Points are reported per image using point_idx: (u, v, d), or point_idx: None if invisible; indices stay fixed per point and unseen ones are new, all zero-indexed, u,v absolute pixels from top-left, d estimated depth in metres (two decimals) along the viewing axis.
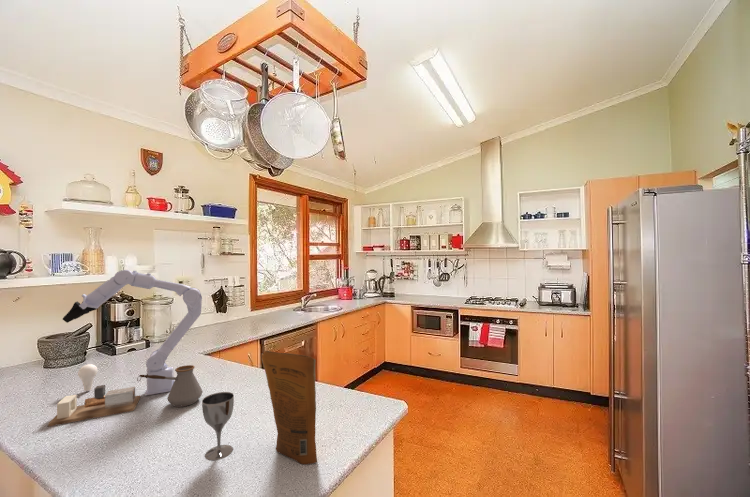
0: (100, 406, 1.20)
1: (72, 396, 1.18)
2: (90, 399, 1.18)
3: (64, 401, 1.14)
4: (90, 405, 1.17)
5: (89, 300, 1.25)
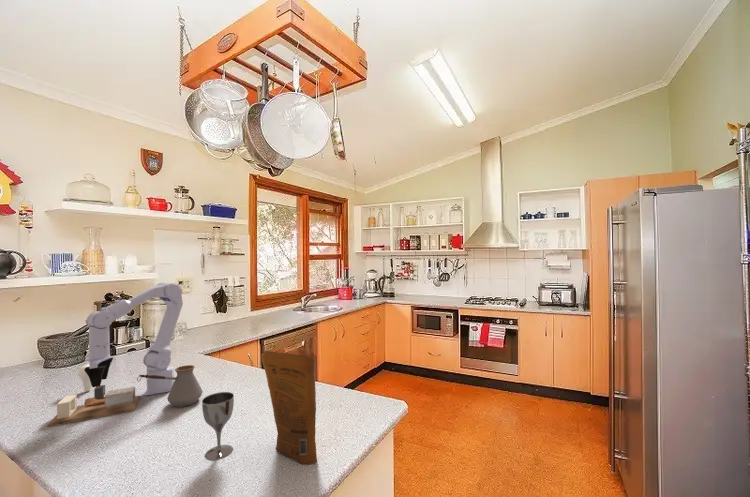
0: (100, 406, 1.20)
1: (72, 396, 1.18)
2: (90, 399, 1.18)
3: (64, 401, 1.14)
4: (90, 405, 1.17)
5: (94, 358, 1.17)
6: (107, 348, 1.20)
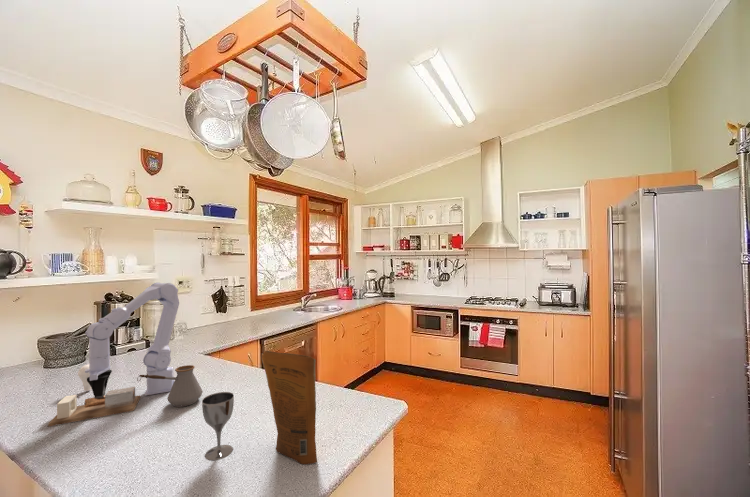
0: (100, 406, 1.20)
1: (72, 396, 1.18)
2: (90, 399, 1.18)
3: (64, 401, 1.14)
4: (90, 405, 1.17)
5: (95, 370, 1.17)
6: (107, 359, 1.20)
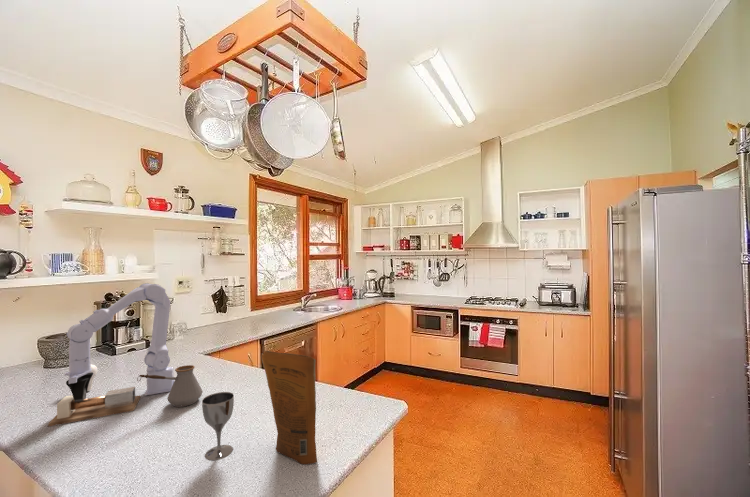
0: (100, 406, 1.20)
1: (72, 396, 1.18)
2: None
3: (64, 401, 1.14)
4: None
5: (74, 372, 1.14)
6: (88, 362, 1.17)
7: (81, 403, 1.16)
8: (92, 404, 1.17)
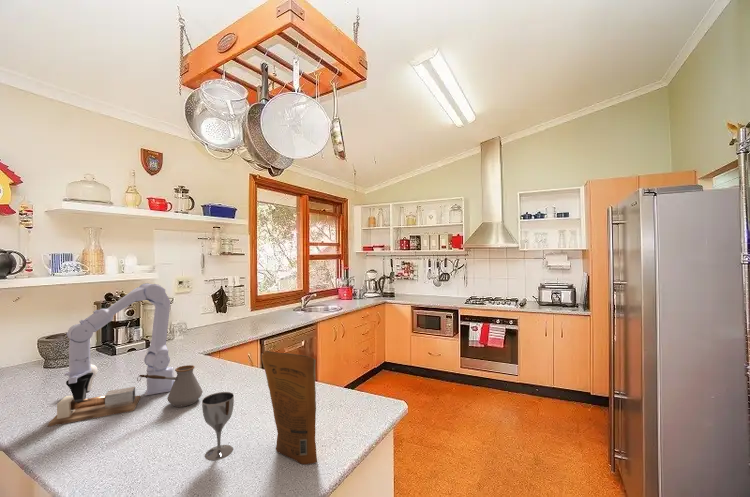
0: (100, 406, 1.20)
1: (72, 396, 1.18)
2: None
3: (64, 401, 1.14)
4: None
5: (74, 372, 1.14)
6: (88, 362, 1.17)
7: (81, 403, 1.16)
8: (92, 404, 1.17)
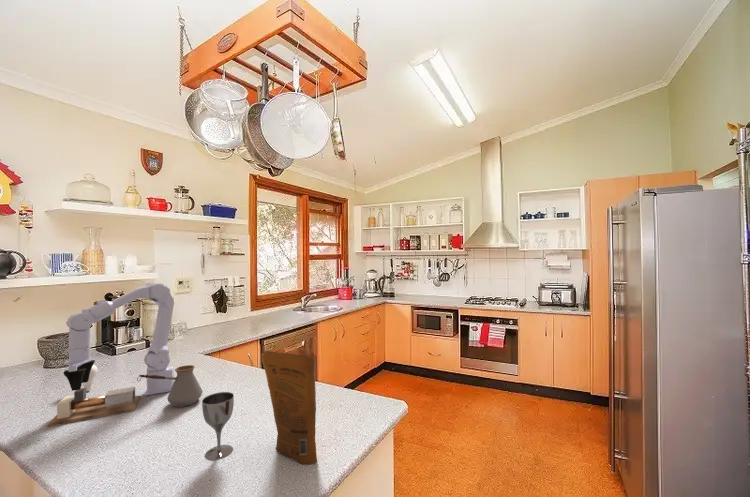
0: (100, 406, 1.20)
1: (72, 396, 1.18)
2: None
3: (64, 401, 1.14)
4: None
5: (74, 361, 1.14)
6: (88, 351, 1.17)
7: (81, 403, 1.16)
8: (92, 404, 1.17)
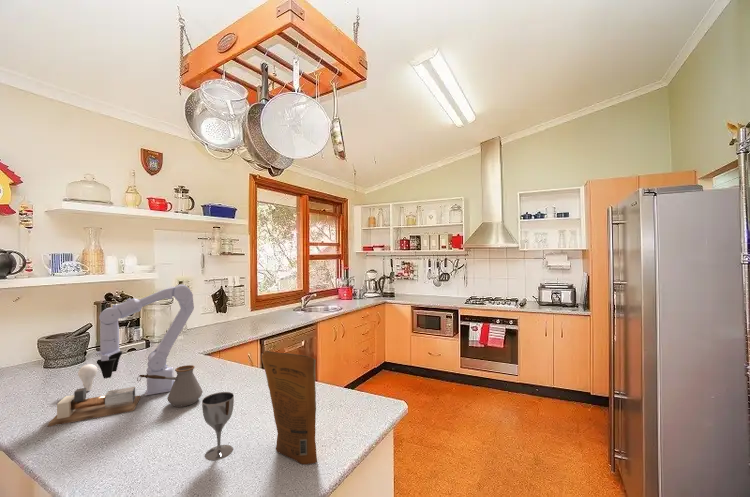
0: (100, 406, 1.20)
1: (72, 396, 1.18)
2: None
3: (64, 401, 1.14)
4: None
5: (105, 351, 1.25)
6: (117, 342, 1.28)
7: (81, 403, 1.16)
8: (92, 404, 1.17)
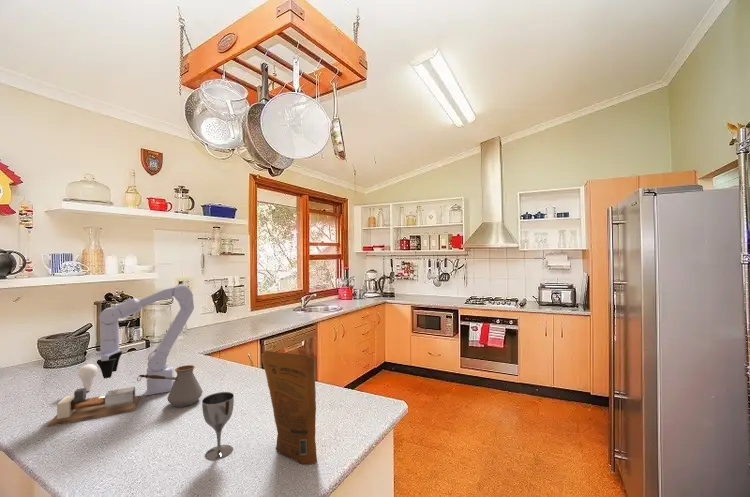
0: (100, 406, 1.20)
1: (72, 396, 1.18)
2: None
3: (64, 401, 1.14)
4: None
5: (105, 351, 1.25)
6: (117, 342, 1.28)
7: (81, 403, 1.16)
8: (92, 404, 1.17)
